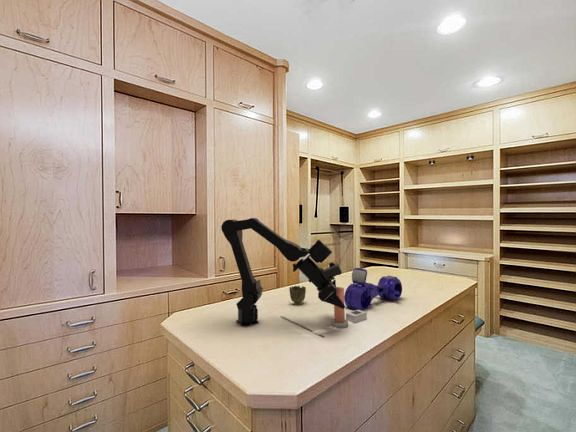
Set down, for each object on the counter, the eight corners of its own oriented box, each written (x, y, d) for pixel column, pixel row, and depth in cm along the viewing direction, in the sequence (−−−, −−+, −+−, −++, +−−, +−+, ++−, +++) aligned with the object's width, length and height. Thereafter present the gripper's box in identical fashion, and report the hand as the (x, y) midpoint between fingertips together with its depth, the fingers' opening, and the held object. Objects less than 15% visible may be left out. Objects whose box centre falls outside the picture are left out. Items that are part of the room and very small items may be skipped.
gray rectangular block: (354, 323, 105) (354, 315, 105) (346, 319, 108) (345, 312, 108) (366, 318, 109) (366, 311, 109) (358, 316, 112) (358, 309, 112)
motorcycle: (364, 317, 114) (363, 272, 114) (337, 308, 124) (337, 268, 124) (409, 300, 136) (409, 263, 136) (383, 294, 146) (383, 260, 146)
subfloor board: (323, 340, 92) (323, 337, 92) (279, 318, 112) (279, 316, 112) (373, 322, 108) (373, 319, 108) (328, 306, 127) (328, 304, 127)
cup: (286, 306, 127) (286, 288, 127) (293, 301, 133) (293, 284, 133) (301, 308, 123) (301, 290, 123) (308, 304, 130) (308, 286, 130)
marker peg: (335, 328, 99) (334, 290, 99) (328, 323, 105) (327, 287, 105) (351, 326, 101) (350, 289, 101) (343, 321, 107) (342, 285, 107)
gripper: (328, 260, 94) (363, 295, 93) (328, 253, 113) (357, 282, 111) (304, 283, 95) (338, 318, 94) (308, 272, 114) (336, 301, 112)
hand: (343, 303), depth 103 cm, fingers open, 9 cm apart
